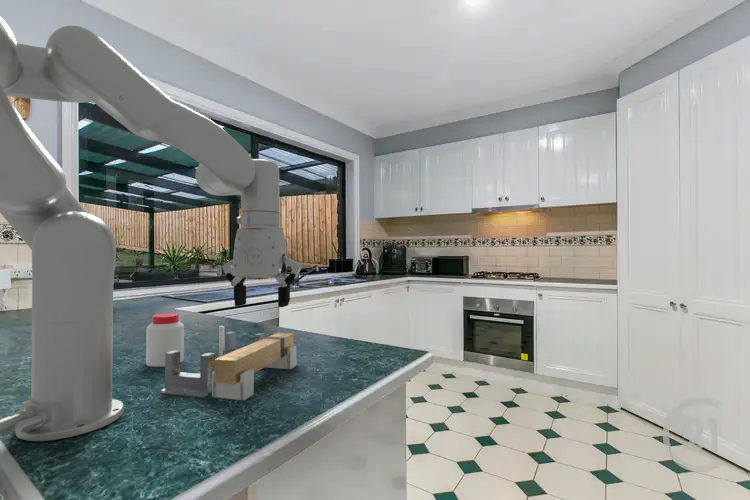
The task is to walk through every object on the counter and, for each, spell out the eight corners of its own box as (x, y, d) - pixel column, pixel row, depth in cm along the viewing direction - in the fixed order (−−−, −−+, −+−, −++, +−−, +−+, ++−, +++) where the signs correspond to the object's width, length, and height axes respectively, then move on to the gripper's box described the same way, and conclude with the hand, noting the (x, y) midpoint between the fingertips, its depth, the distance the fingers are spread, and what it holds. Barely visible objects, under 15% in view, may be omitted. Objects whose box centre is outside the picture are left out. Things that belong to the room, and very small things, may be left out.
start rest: (244, 400, 65) (244, 374, 65) (211, 396, 66) (212, 372, 66) (296, 365, 85) (296, 346, 86) (270, 363, 87) (270, 344, 87)
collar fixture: (203, 397, 66) (204, 346, 66) (160, 393, 68) (161, 343, 68) (266, 362, 88) (267, 324, 88) (232, 360, 90) (232, 322, 90)
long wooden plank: (235, 384, 64) (235, 360, 64) (214, 382, 65) (214, 359, 65) (293, 351, 87) (293, 333, 87) (277, 350, 88) (277, 332, 88)
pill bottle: (154, 369, 83) (155, 319, 83) (140, 362, 87) (140, 315, 88) (189, 361, 89) (190, 314, 89) (174, 355, 94) (174, 311, 94)
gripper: (211, 221, 75) (212, 307, 75) (291, 219, 71) (292, 309, 71) (234, 224, 82) (234, 302, 82) (307, 222, 78) (308, 304, 78)
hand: (261, 305), depth 76 cm, fingers open, 9 cm apart
